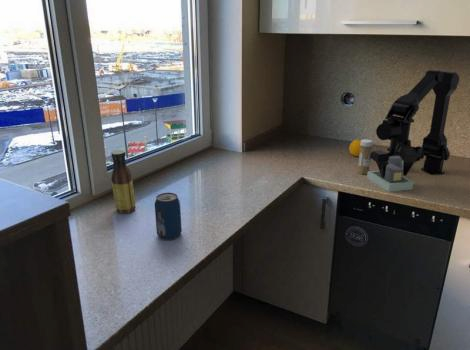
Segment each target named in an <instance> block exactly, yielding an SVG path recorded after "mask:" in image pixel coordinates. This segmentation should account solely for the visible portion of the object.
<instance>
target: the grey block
mask: <svg viewBox="0 0 470 350" xmlns="http://www.w3.org/2000/svg"><path fill="white" fill-rule="evenodd" d="M402 176H403V169H401V168H399V167H397V166H395V165H394V164H392V163H389V164H388V165H387V166H386V172H385V177H384V178H382V177H381V174H379V177H380V178H382V179H384V180H386V181H387V182H389V183H398V182H401V181H402Z"/></svg>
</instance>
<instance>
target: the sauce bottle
mask: <svg viewBox="0 0 470 350" xmlns="http://www.w3.org/2000/svg"><path fill="white" fill-rule="evenodd" d="M110 155H111V158H112V162H113V163H112V164H113V168H112V173H111V178H110V180H111V185H112V192H113V198H114V199H113V200H114V205H115V209H116V212H117V213H119V214H123V215H124V214H128V213H129V214H130V213H133V212H134V211H135V210H136V197H135V191H134V184H133V183H134V182H133V177H132V172H131V170H130V168H129V167H128V166H127V162H126V151H125V150H123V149H118V150H116V149H115V150H113V151H111V154H110Z"/></svg>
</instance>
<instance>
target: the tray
mask: <svg viewBox="0 0 470 350" xmlns="http://www.w3.org/2000/svg"><path fill="white" fill-rule="evenodd" d="M379 174H380V171H379V169H377V170H371V171H370V170H369V171H368V173H367V174H366V179H367V180H369V181H370V182H372V183H373V184H375V185H377V186H379V187H380V188H382V189H383V190H385V191H386V192H387V193H392V192H398V191H408V190H409V191H410V190H413V189H414V183H415V181H413V180H411V179H410V178H407V177H406V176H404V175H402V181H401V182H398V183H389V182H387V181H386V180H384V179H382V178H380V177H379Z"/></svg>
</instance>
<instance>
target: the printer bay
mask: <svg viewBox="0 0 470 350" xmlns="http://www.w3.org/2000/svg"><path fill="white" fill-rule="evenodd" d="M387 162H389V163H392V164H394V165H395V166H397V167H399V168H401V169H403V162H404V161H403V160H402V158H401V157H393V158H389V160H388V161H387Z"/></svg>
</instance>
